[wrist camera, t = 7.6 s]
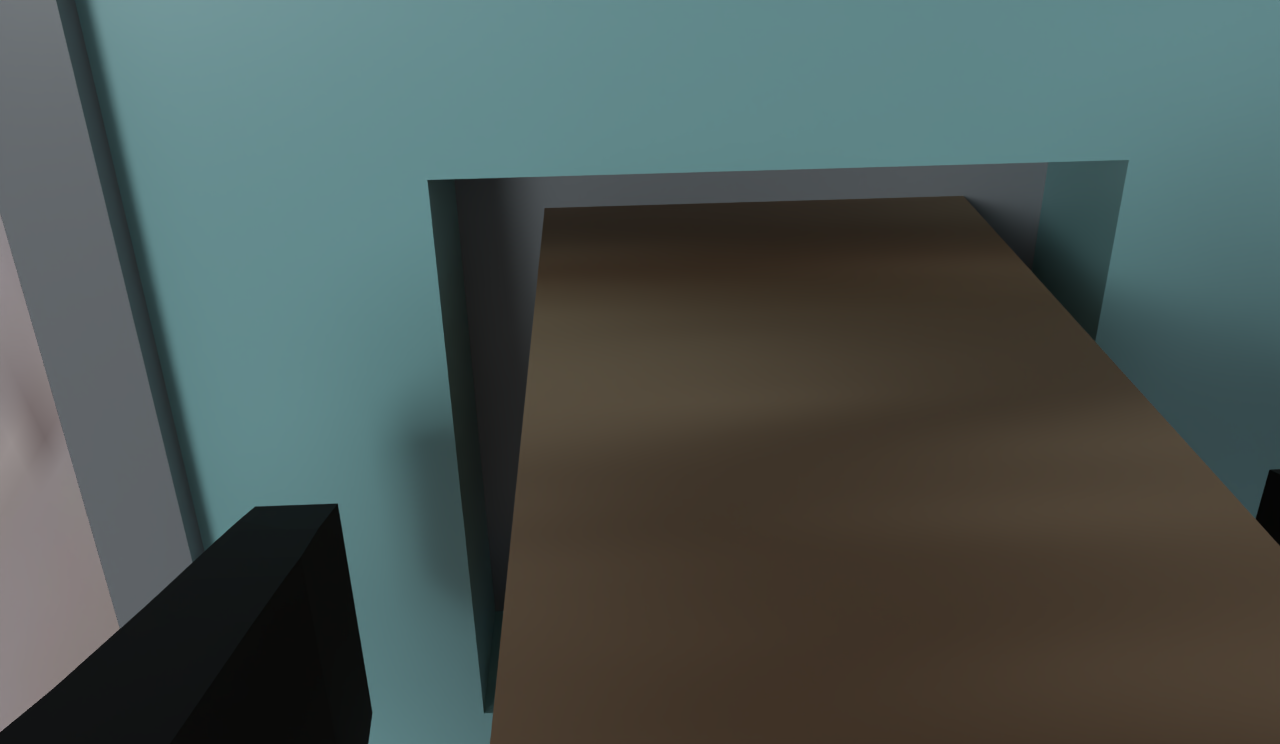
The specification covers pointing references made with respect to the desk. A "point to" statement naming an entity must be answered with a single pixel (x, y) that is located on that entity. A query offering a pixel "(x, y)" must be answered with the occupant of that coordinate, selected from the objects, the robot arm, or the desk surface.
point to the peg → (857, 499)
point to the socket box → (512, 230)
